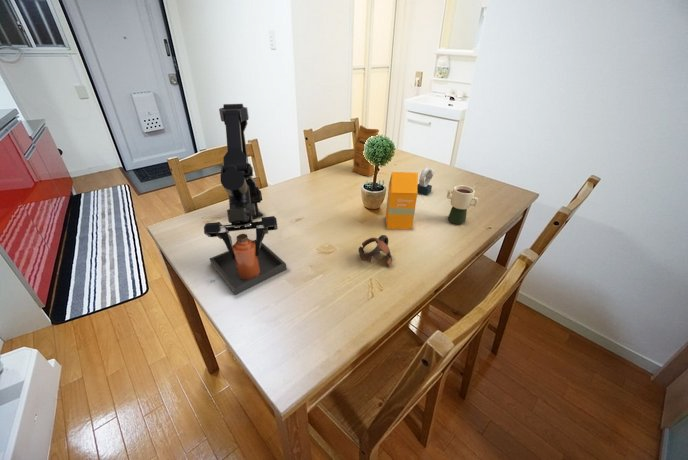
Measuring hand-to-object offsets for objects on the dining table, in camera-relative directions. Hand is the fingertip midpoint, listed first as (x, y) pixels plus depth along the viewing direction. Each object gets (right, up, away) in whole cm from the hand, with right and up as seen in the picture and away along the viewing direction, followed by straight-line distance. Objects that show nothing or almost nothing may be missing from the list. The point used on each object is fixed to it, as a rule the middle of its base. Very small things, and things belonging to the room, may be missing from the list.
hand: (245, 257), depth 82 cm
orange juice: (+47, +10, +29) cm, 56 cm away
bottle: (0, -5, +5) cm, 7 cm away
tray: (-1, -4, +7) cm, 8 cm away
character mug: (+69, +11, +31) cm, 76 cm away
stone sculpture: (+62, +24, +52) cm, 84 cm away
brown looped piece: (+37, -2, +12) cm, 39 cm away
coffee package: (+37, +37, +71) cm, 88 cm away
